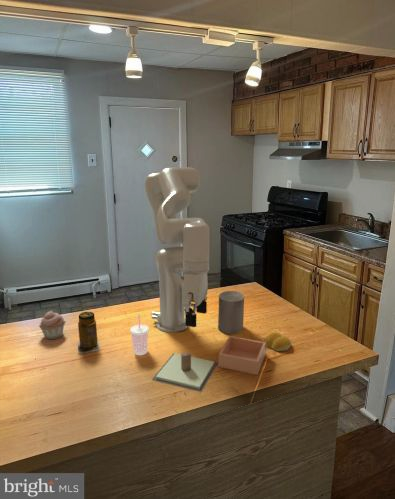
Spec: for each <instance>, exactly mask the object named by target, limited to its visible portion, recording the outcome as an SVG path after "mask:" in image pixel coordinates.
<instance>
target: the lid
mask: <svg viewBox="0 0 395 499" xmlns="http://www.w3.org/2000/svg"><path fill="white" fill-rule="evenodd" d="M171 356H172V355H171ZM171 356H170V357H171ZM166 362H167V361H166ZM166 362H165V363H166ZM215 362H216V361H213V360H208V359H203V358H200V357H195V356H192V352H191V353H190V352H189V351H183V352H182V353H181V354H180V353H176V352H175V354H174V355H173V356H172V357H171V359H170V360H169V361H168V362H167V363H166V365H165V366H164V367H163V368H162V367H161V368H162V370H161V371H160V372H159V373H158V372H157V373H158V374H157V373H156V374H157V376H156V379H159V380H163V381H167V382H172V383H176V384H180V385H184V386H188V387H192V388H197V389H200V387H201V386H202V384H203V382H204V381H205V379H206V377H207V376H208V374H209V372H210V370H211V369H212V367H213V365H214V364H215Z"/></svg>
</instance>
